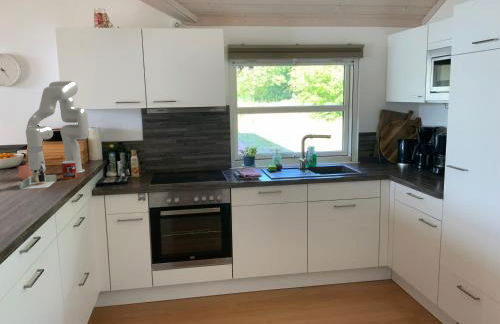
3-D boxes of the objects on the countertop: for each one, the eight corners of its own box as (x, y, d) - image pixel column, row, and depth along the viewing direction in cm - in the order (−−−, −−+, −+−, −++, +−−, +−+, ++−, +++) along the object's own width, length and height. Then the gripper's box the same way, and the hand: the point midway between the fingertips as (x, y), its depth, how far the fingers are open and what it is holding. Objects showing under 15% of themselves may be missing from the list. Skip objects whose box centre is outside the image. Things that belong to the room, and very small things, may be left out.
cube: (32, 181, 236) (31, 173, 235) (41, 180, 240) (40, 171, 239) (37, 182, 234) (36, 174, 233) (45, 180, 238) (44, 172, 237)
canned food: (62, 181, 247) (60, 163, 245) (64, 178, 254) (62, 161, 252) (76, 180, 249) (74, 162, 247) (77, 177, 256) (76, 160, 254)
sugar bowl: (31, 181, 249) (29, 164, 247) (11, 181, 252) (9, 164, 250) (45, 177, 261) (43, 161, 259) (26, 177, 264) (24, 161, 262)
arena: (30, 183, 243) (29, 176, 242) (56, 181, 245) (56, 174, 245) (20, 190, 225) (19, 182, 225) (48, 188, 228) (47, 180, 227)
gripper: (21, 149, 235) (25, 180, 239) (37, 151, 226) (41, 183, 229) (33, 148, 242) (37, 178, 245) (50, 149, 232) (53, 181, 235)
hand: (39, 180), depth 237 cm, fingers closed on cube, 4 cm apart
